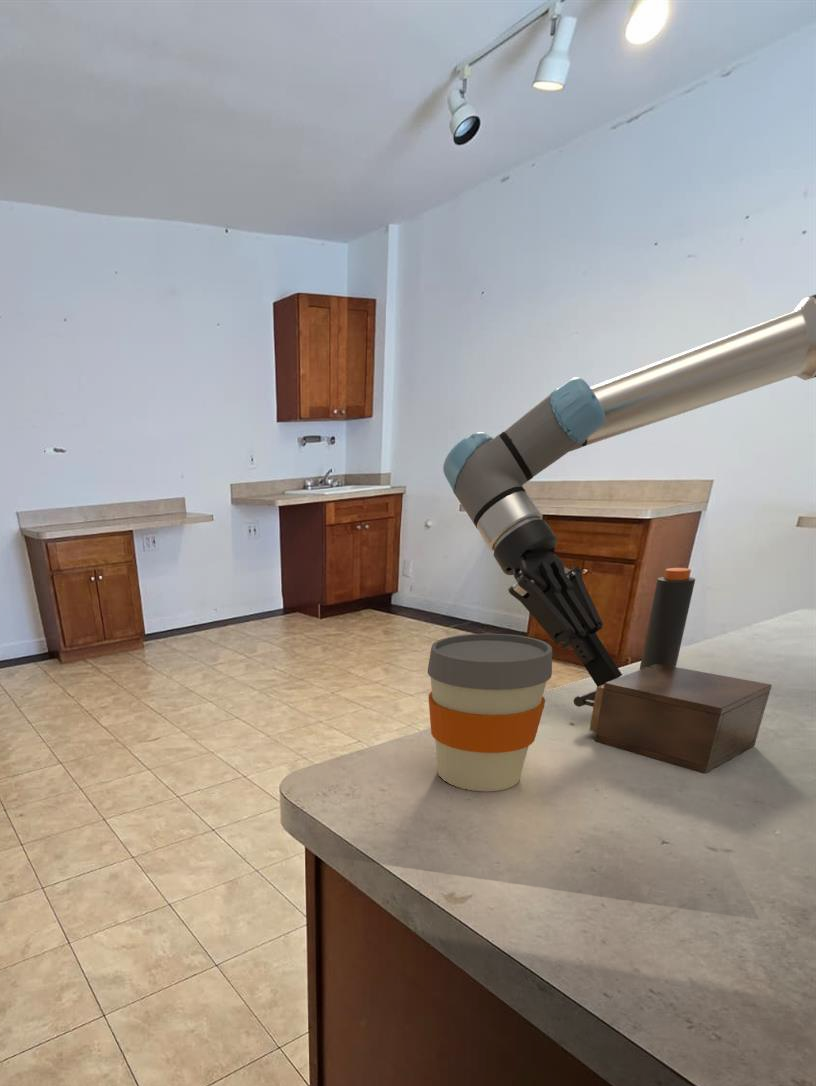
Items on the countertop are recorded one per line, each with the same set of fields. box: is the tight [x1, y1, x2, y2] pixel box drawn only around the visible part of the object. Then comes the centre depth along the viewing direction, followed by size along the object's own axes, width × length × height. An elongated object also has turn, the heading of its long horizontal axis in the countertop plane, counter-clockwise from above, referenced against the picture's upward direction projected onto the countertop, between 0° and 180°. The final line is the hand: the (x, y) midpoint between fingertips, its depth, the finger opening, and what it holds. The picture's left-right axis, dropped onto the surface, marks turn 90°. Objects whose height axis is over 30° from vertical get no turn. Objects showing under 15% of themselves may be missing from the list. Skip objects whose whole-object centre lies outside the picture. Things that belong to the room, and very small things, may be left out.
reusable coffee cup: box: [426, 633, 553, 792], centre depth 71 cm, size 13×13×15 cm
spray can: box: [639, 567, 696, 670], centre depth 87 cm, size 5×5×18 cm
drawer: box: [573, 684, 604, 733], centre depth 79 cm, size 15×10×6 cm
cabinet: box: [594, 664, 773, 774], centre depth 76 cm, size 13×12×8 cm
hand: (610, 681), depth 82 cm, fingers closed
